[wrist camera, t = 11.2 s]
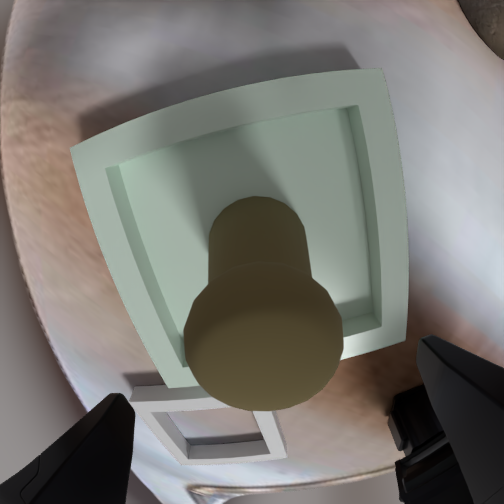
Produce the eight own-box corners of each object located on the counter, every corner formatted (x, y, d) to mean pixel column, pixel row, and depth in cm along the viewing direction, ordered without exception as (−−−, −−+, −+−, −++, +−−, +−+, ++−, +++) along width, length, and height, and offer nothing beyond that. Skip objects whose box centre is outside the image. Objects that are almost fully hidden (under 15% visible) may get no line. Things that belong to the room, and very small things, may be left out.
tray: (365, 76, 15) (382, 68, 12) (393, 321, 21) (405, 340, 19) (90, 145, 16) (69, 147, 14) (174, 367, 22) (168, 388, 20)
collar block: (263, 372, 22) (264, 390, 21) (286, 443, 27) (287, 457, 25) (134, 386, 23) (128, 401, 22) (183, 451, 28) (181, 465, 26)
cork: (305, 192, 17) (384, 272, 7) (307, 285, 19) (354, 423, 9) (202, 200, 17) (133, 290, 7) (214, 292, 19) (185, 435, 9)
